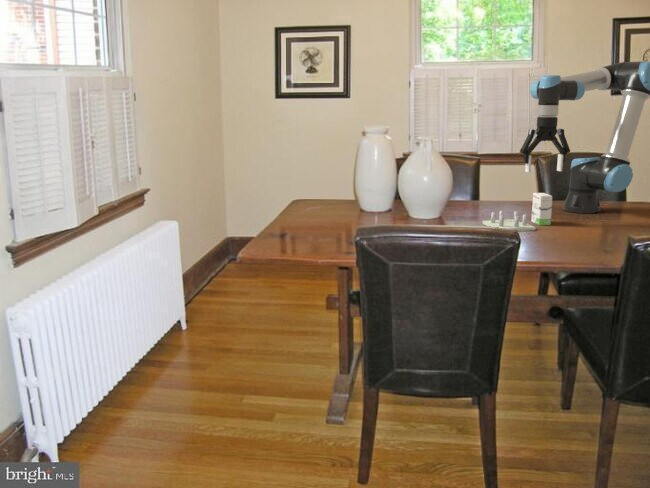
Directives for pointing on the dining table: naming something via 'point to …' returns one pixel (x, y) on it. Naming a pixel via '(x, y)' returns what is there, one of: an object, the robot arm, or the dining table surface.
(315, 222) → the dining table surface
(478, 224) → the dining table surface
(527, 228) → the pin tray
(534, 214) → the ink box
